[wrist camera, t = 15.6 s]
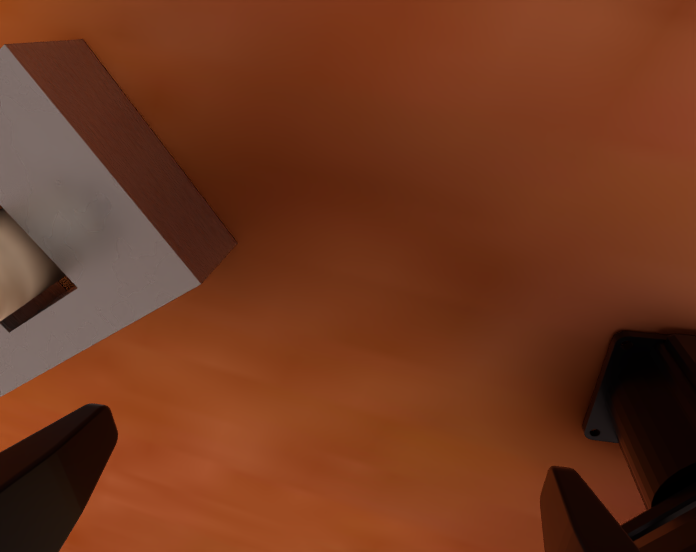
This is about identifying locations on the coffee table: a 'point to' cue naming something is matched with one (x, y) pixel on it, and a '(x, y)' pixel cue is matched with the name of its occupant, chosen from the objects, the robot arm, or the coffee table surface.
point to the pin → (22, 267)
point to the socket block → (91, 206)
